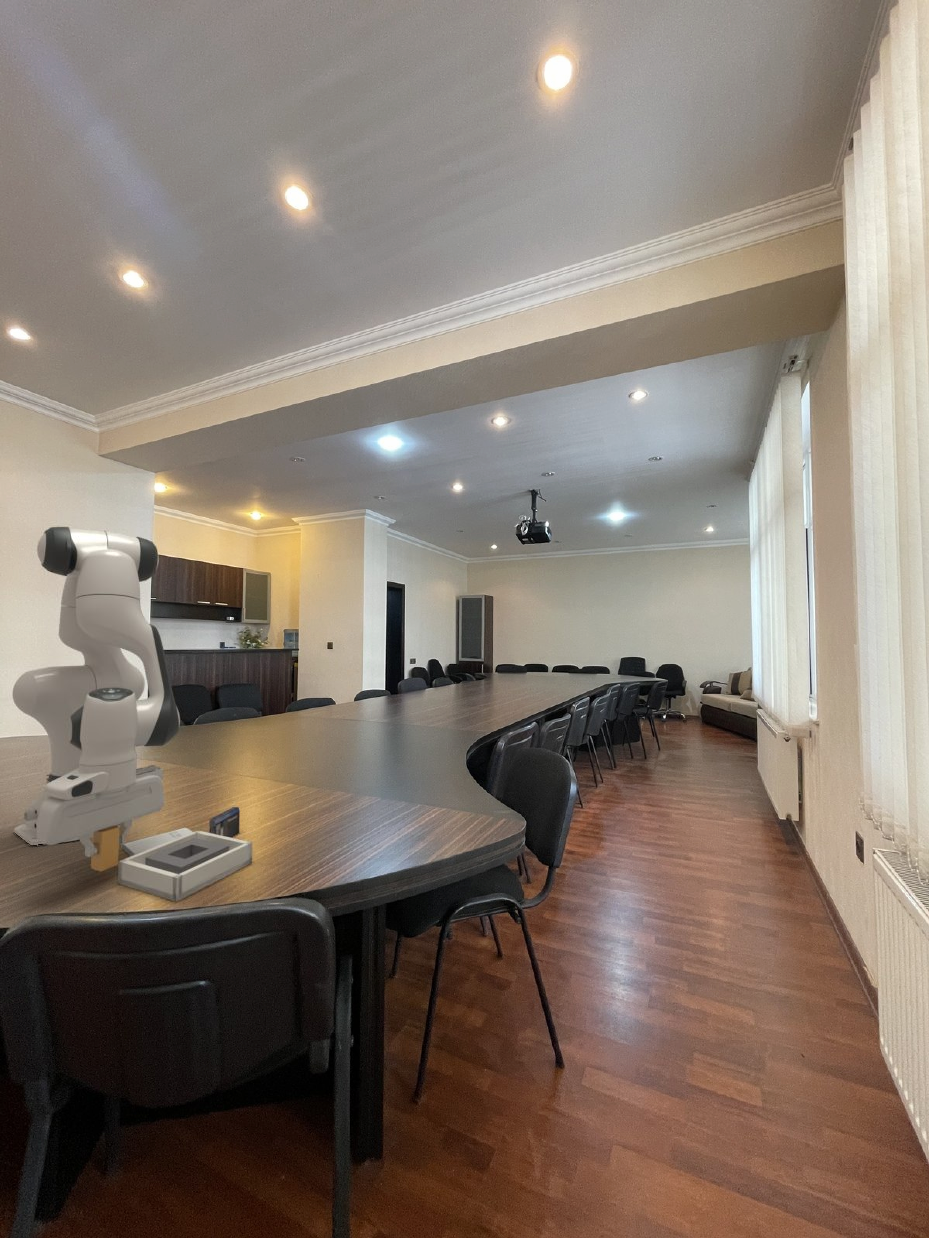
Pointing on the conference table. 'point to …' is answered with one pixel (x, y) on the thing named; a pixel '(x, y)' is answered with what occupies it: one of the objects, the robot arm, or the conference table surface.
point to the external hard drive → (153, 841)
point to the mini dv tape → (226, 823)
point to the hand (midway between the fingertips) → (105, 850)
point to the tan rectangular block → (106, 848)
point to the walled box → (184, 864)
